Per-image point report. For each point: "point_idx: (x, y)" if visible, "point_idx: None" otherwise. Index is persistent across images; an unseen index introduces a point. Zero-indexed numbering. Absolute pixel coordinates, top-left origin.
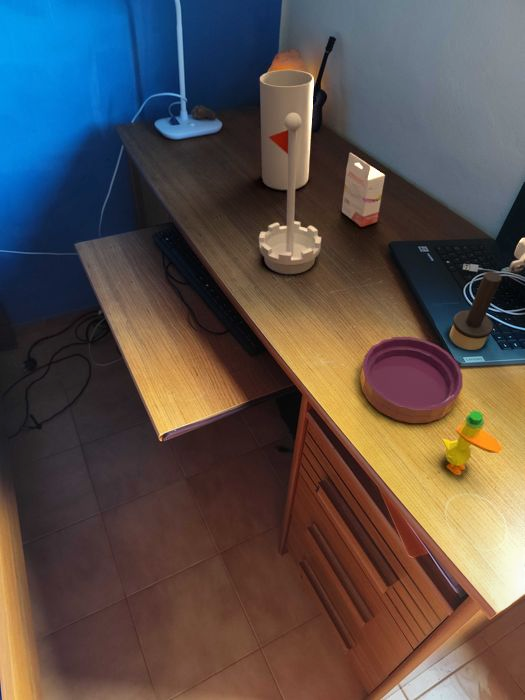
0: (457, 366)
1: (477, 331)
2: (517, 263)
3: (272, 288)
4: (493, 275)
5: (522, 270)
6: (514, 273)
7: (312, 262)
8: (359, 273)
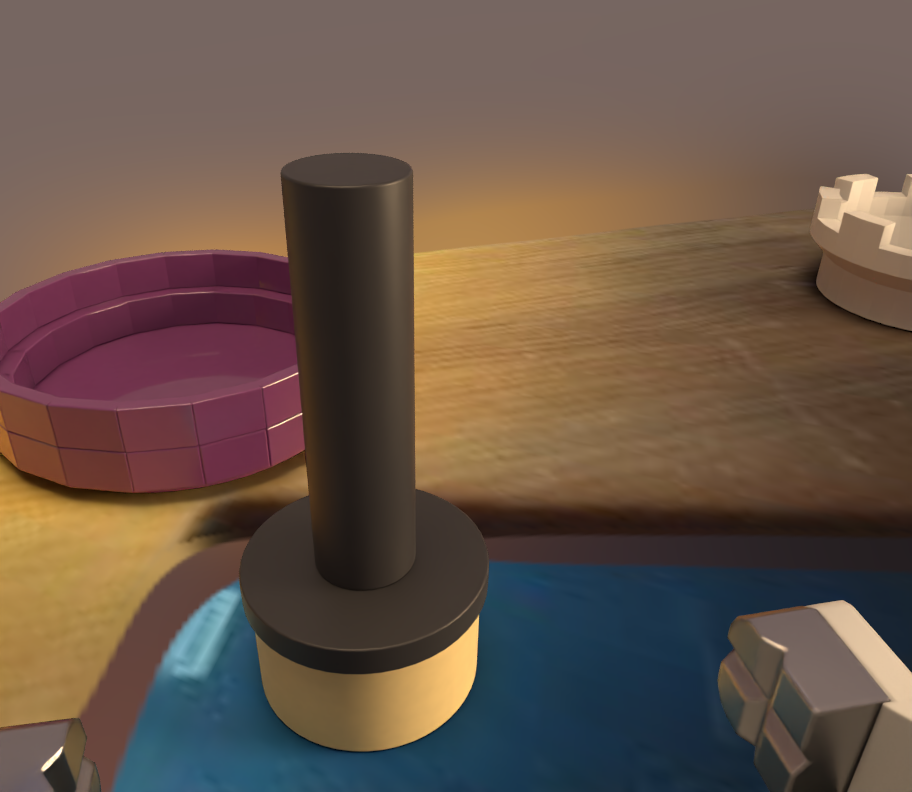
0: (101, 405)
1: (283, 547)
2: (807, 626)
3: (726, 262)
4: (355, 170)
5: (786, 786)
6: (723, 697)
7: (900, 313)
8: (898, 417)
